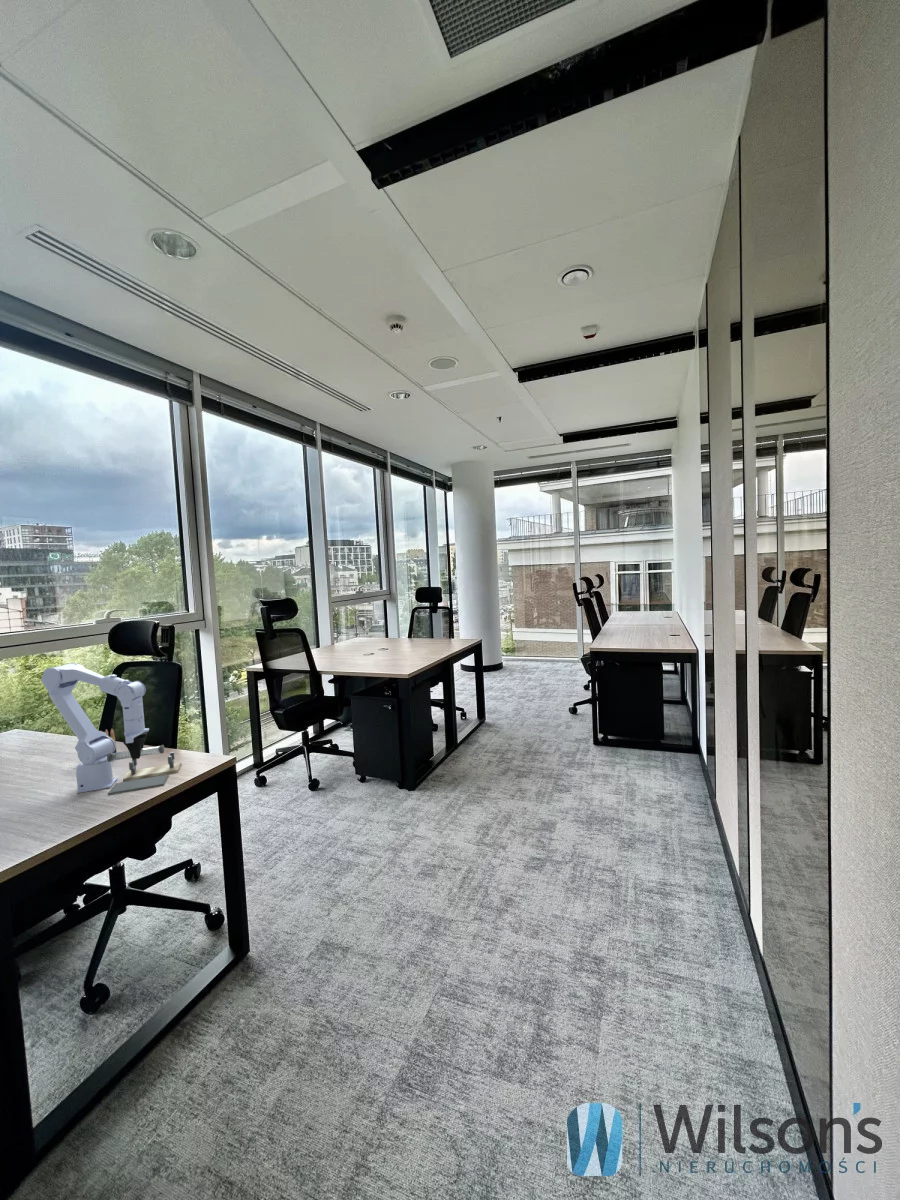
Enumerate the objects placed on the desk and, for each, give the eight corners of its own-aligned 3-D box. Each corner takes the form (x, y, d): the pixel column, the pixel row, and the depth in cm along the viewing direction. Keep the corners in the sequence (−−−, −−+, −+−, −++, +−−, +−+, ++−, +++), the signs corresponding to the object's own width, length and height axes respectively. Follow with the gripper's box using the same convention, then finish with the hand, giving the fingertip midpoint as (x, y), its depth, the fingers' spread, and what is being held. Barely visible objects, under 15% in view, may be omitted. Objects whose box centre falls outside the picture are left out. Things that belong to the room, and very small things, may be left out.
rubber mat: (108, 795, 155) (107, 793, 155) (115, 785, 162) (115, 783, 162) (163, 785, 161) (163, 783, 161) (168, 776, 168) (168, 774, 168)
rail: (107, 763, 157) (106, 755, 157) (110, 759, 160) (109, 751, 159) (162, 754, 162) (161, 746, 162) (164, 751, 165) (163, 743, 165)
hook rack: (123, 781, 165) (121, 765, 165) (128, 773, 172) (127, 758, 172) (178, 772, 171) (176, 756, 171) (181, 765, 178) (180, 750, 177)
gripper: (141, 722, 155) (145, 762, 156) (152, 710, 168) (155, 748, 169) (116, 725, 152) (120, 766, 153) (129, 713, 166) (132, 751, 167)
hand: (137, 757), depth 161 cm, fingers closed on rail, 2 cm apart
